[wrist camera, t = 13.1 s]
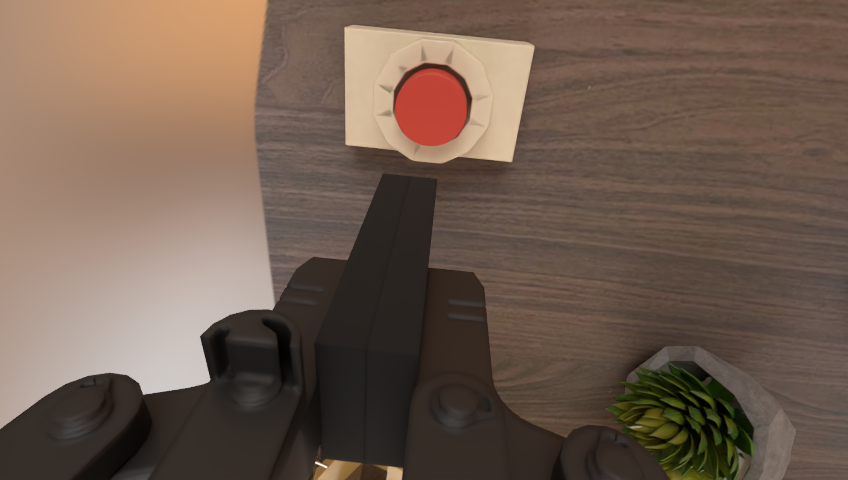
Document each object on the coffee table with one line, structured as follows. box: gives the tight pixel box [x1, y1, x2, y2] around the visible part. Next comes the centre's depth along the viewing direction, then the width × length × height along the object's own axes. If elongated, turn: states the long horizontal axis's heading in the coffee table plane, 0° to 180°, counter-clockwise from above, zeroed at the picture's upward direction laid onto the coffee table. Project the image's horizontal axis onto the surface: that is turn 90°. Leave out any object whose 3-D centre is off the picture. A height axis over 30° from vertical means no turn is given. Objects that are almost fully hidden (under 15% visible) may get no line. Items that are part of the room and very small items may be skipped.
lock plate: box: [313, 459, 403, 480], centre depth 49 cm, size 14×11×2 cm
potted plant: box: [605, 346, 796, 480], centre depth 34 cm, size 12×13×15 cm
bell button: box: [395, 68, 467, 146], centre depth 24 cm, size 4×4×2 cm
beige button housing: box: [345, 25, 535, 163], centre depth 26 cm, size 11×7×4 cm, turn 85°
